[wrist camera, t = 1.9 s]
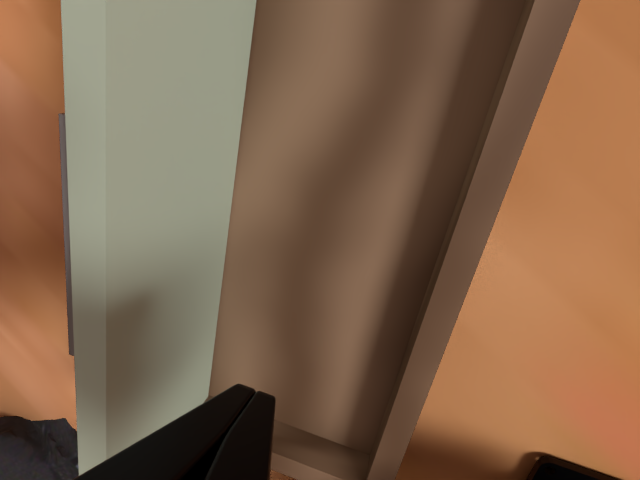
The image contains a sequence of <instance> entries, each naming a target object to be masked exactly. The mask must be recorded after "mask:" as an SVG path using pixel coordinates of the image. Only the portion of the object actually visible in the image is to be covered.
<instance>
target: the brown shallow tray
mask: <svg viewBox="0 0 640 480" xmlns="http://www.w3.org/2000/svg"><path fill="white" fill-rule="evenodd" d="M579 2H580V0H256V8H255V17H254V25H253V33H252V41H251V49H250V57H249V66H248V74H247V82H246V90H245V98H244V107H243V115H242V123H241V131H240V139H239V148H238V156H237V164H236V172H235V180H234V189H233V197H232V205H231V213H230V221H229V229H228V238H227V246H226V254H225V262H224V270H223V279H222V287H221V295H220V303H219V311H218V320H217V328H216V336H215V344H214V352H213V360H212V369H211V377H210V385H209V393H208V397H207V399H206V400H205V401H204V402H206V401H208V400H209V399H211V398H213V397H215V396H216V395H218V394H220V393H221V392H223V391H225V390H227V389H228V388H230V387H232V386H233V385H235V384H243V385H245V386H248V387H251V388H254V389H255V390H256V392H257V391H262V392H265V393H267V394H270V395H273V396H275V398H276V404H275V417H274V431H273V444H272V457H271V470H274V471H276V472H279V473H281V474H284V475H286V476H289V477H292V478H294V479H297V480H395V478H396V475H397V473H398V470H399V467H400V465H401V462H402V460H403V457H404V455H405V452H406V449H407V447H408V444H409V442H410V439H411V436H412V434H413V431H414V429H415V426H416V424H417V421H418V418H419V416H420V413H421V411H422V408H423V405H424V403H425V400H426V398H427V395H428V393H429V390H430V387H431V385H432V382H433V380H434V377H435V374H436V372H437V369H438V367H439V364H440V361H441V359H442V356H443V354H444V351H445V349H446V346H447V343H448V341H449V338H450V336H451V333H452V330H453V328H454V325H455V323H456V320H457V318H458V315H459V312H460V310H461V307H462V305H463V302H464V299H465V297H466V294H467V292H468V289H469V287H470V284H471V281H472V279H473V276H474V274H475V271H476V268H477V266H478V263H479V261H480V258H481V256H482V253H483V250H484V248H485V245H486V243H487V240H488V237H489V235H490V232H491V230H492V227H493V225H494V222H495V219H496V217H497V214H498V212H499V209H500V206H501V204H502V201H503V199H504V196H505V194H506V191H507V188H508V186H509V183H510V181H511V178H512V175H513V173H514V170H515V168H516V165H517V163H518V160H519V157H520V155H521V152H522V150H523V147H524V144H525V142H526V139H527V137H528V134H529V132H530V129H531V126H532V124H533V121H534V119H535V116H536V113H537V111H538V108H539V106H540V103H541V101H542V98H543V95H544V93H545V90H546V88H547V85H548V82H549V80H550V77H551V75H552V72H553V70H554V67H555V64H556V62H557V59H558V57H559V54H560V51H561V49H562V46H563V44H564V41H565V39H566V36H567V33H568V31H569V28H570V26H571V23H572V20H573V18H574V15H575V13H576V10H577V8H578V5H579Z"/></svg>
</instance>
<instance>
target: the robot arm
mask: <svg viewBox="0 0 640 480" xmlns="http://www.w3.org/2000/svg"><path fill="white" fill-rule="evenodd" d="M275 404H276V398H275V396H273V395H270V394H267V393H265V392H262V391H257V392H256V390H255V389H254V388H251V387H248V386H245V385H243V384H235V385H233V386H232V387H230V388H228V389H227V390H225V391H223V392H221V393H220V394H218V395H216V396H215V397H213V398H211V399H209V400H208V401H206V402H204V403H203V404H201V405H199V406H197V407H196V408H194V409H192V410H191V411H189V412H187V413H185V414H184V415H182V416H180V417H179V418H177V419H175V420H174V421H172V422H170V423H168V424H167V425H165V426H163V427H162V428H160V429H158V430H156V431H155V432H153V433H151V434H150V435H148V436H146V437H144V438H143V439H141V440H139V441H138V442H136V443H134V444H132V445H131V446H129V447H127V448H126V449H124V450H122V451H120V452H119V453H117V454H115V455H114V456H112V457H110V458H109V459H107V460H105V461H103V462H102V463H100V464H98V465H97V466H95V467H93V468H91V469H90V470H88V471H86V472H85V473H83V474H81V475H79V476H78V477H76V478H74V479H73V480H270V471H271V457H272V444H273V431H274V417H275ZM546 467H551V468H546ZM527 480H617V479H614V478H611V477H608V476H605V475H602V474H599V473H596V472H594V471H591V470H588V469H585V468H582V467H579V466H576V465H573V464H571V463H568V462H565V461H562V460H559V459H556V458H553V457H549V456H543V457H541V458H539V459H538V460H537V462H536V464H535V466H534V467H533V469H532V471H531V473H530V474H529V476H528V478H527Z"/></svg>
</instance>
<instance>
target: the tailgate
mask: <svg viewBox="0 0 640 480" xmlns="http://www.w3.org/2000/svg"><path fill="white" fill-rule="evenodd" d="M255 8H256V0H61V18H62V44H63V71H64V97H65V113H62V114H59V132H60V155H61V178H62V201H63V224H64V247H65V269H66V292H67V315H68V338H69V354H70V355H72V356H74V361H75V387H76V414H77V440H78V466H79V475H81V474H83V473H85V472H86V471H88V470H90V469H91V468H93V467H95V466H97V465H98V464H100V463H102V462H103V461H105V460H107V459H109V458H110V457H112V456H114V455H115V454H117V453H119V452H120V451H122V450H124V449H126V448H127V447H129V446H131V445H132V444H134V443H136V442H138V441H139V440H141V439H143V438H144V437H146V436H148V435H150V434H151V433H153V432H155V431H156V430H158V429H160V428H162V427H163V426H165V425H167V424H168V423H170V422H172V421H174V420H175V419H177V418H179V417H180V416H182V415H184V414H185V413H187V412H189V411H191V410H192V409H194V408H196V407H197V406H199V405H201V404H203V403H204V401H205V400H206V399H207V397H208V393H209V385H210V377H211V369H212V360H213V352H214V344H215V336H216V328H217V320H218V311H219V303H220V295H221V287H222V279H223V270H224V262H225V254H226V246H227V238H228V229H229V221H230V213H231V205H232V197H233V189H234V180H235V172H236V164H237V156H238V148H239V139H240V131H241V123H242V115H243V107H244V98H245V90H246V82H247V74H248V66H249V57H250V49H251V41H252V33H253V25H254V17H255Z"/></svg>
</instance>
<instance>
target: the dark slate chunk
mask: <svg viewBox="0 0 640 480" xmlns="http://www.w3.org/2000/svg"><path fill="white" fill-rule="evenodd" d="M78 476H79V466H78V440H77V432H76V430H75V429H73V428H72V427H71V426H70V424H69V423H68V422H67V420H66V419H65V418H62V419H57V420H42V421H31V420H27V419H24V418H22V417H18V416H11V417H7V416H4V417H0V480H73V479H74V478H76V477H78Z"/></svg>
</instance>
